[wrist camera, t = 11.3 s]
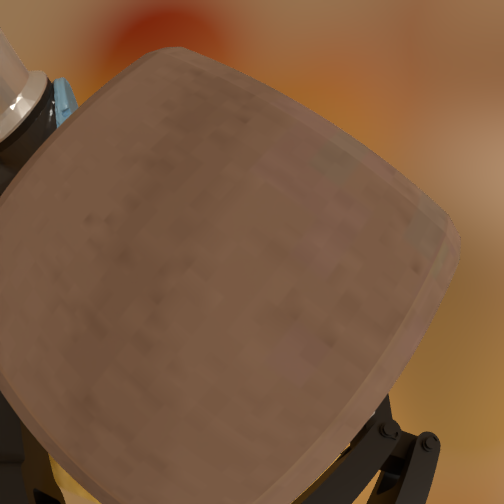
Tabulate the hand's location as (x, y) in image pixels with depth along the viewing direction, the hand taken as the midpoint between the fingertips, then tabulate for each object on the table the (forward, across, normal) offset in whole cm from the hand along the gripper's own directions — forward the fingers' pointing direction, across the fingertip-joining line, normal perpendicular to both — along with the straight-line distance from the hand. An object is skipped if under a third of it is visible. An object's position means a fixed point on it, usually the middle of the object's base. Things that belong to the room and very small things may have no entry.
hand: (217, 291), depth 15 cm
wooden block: (+6, 0, -8) cm, 10 cm away
